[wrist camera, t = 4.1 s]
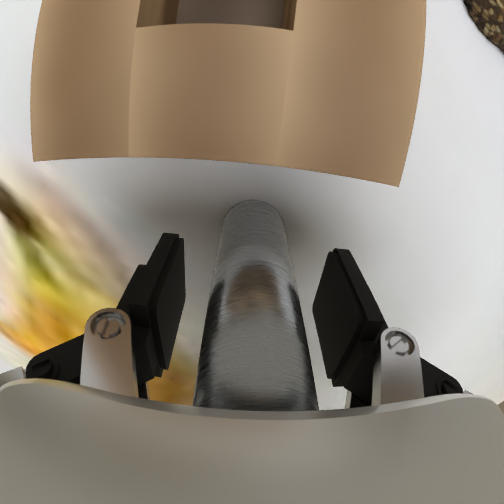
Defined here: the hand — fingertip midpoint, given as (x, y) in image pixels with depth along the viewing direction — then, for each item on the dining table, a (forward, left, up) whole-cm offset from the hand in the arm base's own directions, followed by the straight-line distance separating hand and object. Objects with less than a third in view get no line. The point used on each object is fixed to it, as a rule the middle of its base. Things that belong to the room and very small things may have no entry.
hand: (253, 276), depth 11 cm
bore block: (+2, -10, -4) cm, 11 cm away
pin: (0, 0, -4) cm, 4 cm away
